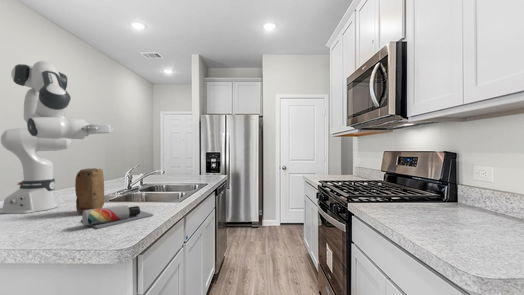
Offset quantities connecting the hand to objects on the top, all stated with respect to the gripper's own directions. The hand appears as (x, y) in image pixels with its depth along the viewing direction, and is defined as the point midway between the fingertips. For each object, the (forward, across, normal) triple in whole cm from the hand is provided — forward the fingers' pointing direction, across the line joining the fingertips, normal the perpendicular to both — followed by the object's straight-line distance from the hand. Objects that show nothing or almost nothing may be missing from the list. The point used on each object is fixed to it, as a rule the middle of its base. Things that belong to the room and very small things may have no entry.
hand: (112, 130), depth 123 cm
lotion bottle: (-19, -20, +34) cm, 44 cm away
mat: (-6, -18, +38) cm, 42 cm away
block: (-9, +4, +38) cm, 39 cm away
